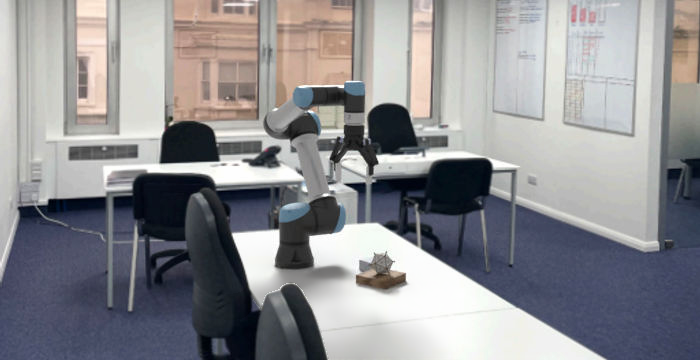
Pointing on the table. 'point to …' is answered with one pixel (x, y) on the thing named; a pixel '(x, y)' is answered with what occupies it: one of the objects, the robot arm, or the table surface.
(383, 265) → the game die
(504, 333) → the table surface
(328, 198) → the robot arm
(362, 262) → the card box
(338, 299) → the table surface
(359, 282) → the plinth
